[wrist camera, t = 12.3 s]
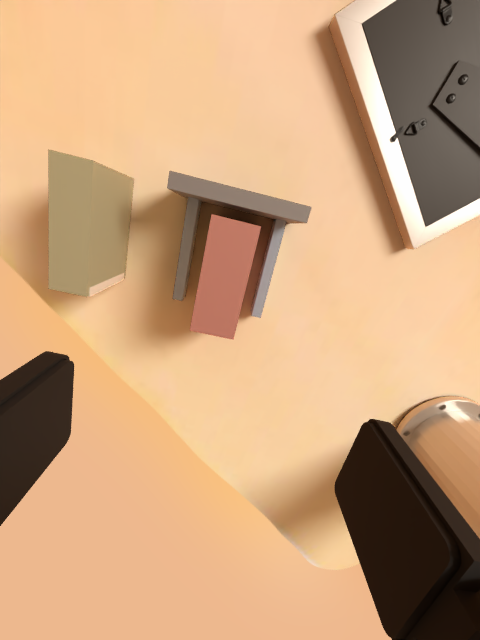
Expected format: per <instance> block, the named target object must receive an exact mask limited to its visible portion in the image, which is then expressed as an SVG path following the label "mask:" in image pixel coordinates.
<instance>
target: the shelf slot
mask: <svg viewBox="0 0 480 640" xmlns="http://www.w3.org/2000/svg"><path fill="white" fill-rule="evenodd" d="M167 188H168V189H170V190H172V191H174V192H176V193H178V194H179V195H181V196H183V197H186V198H188V202H187V208H186V215H185V221H184V228H183V234H182V241H181V247H180V254H179V260H178V267H177V273H176V280H175V286H174V293H173V299H176V300H180V301H182V300H183V299H184V298H185V296H186V290H187V284H188V278H189V272H190V266H191V261H192V255H193V249H194V243H195V237H196V231H197V225H198V219H199V213H200V207H201V202H202V201H203V202H207V203H211V204H215V205H219V206H223V207H227V208H231V209H235V210H239V211H243V212H247V213H251V214H255V215H259V216H263V217H267V218H271V219H274V221H273V225H272V229H271V233H270V237H269V240H268V244H267V248H266V252H265V256H264V260H263V264H262V268H261V272H260V276H259V280H258V284H257V288H256V291H255V295H254V299H253V303H252V307H251V315H252V316H254V317H259V318H261V315H262V311H263V307H264V303H265V300H266V296H267V292H268V289H269V285H270V281H271V278H272V274H273V270H274V266H275V263H276V259H277V255H278V252H279V248H280V244H281V241H282V237H283V233H284V229H285V226H286V222H287V223H307V221H308V217H309V214H310V210H311V207H310V206H306V205H302V204H298V203H294V202H290V201H286V200H282V199H278V198H274V197H270V196H267V195H263V194H259V193H255V192H251V191H247V190H243V189H239V188H235V187H231V186H227V185H224V184H220V183H216V182H212V181H208V180H204V179H200V178H196V177H192V176H188V175H184V174H181V173H177V172H173V171H169V178H168V186H167Z"/></svg>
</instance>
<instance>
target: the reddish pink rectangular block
mask: <svg viewBox="0 0 480 640" xmlns="http://www.w3.org/2000/svg"><path fill="white" fill-rule="evenodd" d="M260 230H261V226H257V225H253V224H249V223H245V222H241V221H237V220H233V219H229V218H225V217H221V216H217V215H214V214H212V215H211V220H210V225H209V230H208V235H207V241H206V246H205V251H204V257H203V262H202V267H201V273H200V278H199V283H198V289H197V294H196V299H195V305H194V310H193V315H192V321H191V327H190V331H195V332H200V333H205V334H209V335H214V336H219V337H223V338H228V339H234V335H235V331H236V327H237V323H238V319H239V315H240V311H241V307H242V302H243V298H244V294H245V290H246V286H247V282H248V278H249V274H250V270H251V266H252V262H253V258H254V254H255V250H256V246H257V242H258V238H259V234H260Z"/></svg>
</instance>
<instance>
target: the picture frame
mask: <svg viewBox="0 0 480 640" xmlns="http://www.w3.org/2000/svg"><path fill="white" fill-rule="evenodd" d="M329 29H330V32H331V35H332V38H333V41H334V43H335V46H336V49H337V52H338V55H339V58H340V61H341V64H342V67H343V69H344V72H345V75H346V78H347V81H348V84H349V87H350V90H351V93H352V95H353V98H354V101H355V104H356V107H357V110H358V113H359V116H360V119H361V121H362V124H363V127H364V130H365V133H366V136H367V139H368V142H369V145H370V147H371V150H372V153H373V156H374V159H375V162H376V165H377V168H378V171H379V173H380V176H381V179H382V182H383V185H384V188H385V191H386V194H387V197H388V199H389V202H390V205H391V208H392V211H393V214H394V217H395V220H396V223H397V225H398V228H399V231H400V234H401V237H402V240H403V243H404V246H405V248H407V249H415V248H417V247H419V246H421V245H423V244H425V243H427V242H429V241H431V240H433V239H435V238H437V237H439V236H440V235H442V234H444V233H446V232H448V231H450V230H452V229H454V228H456V227H458V226H460V225H462V224H463V223H465V222H467V221H469V220H471V219H473V218H475V217H477V216H479V215H480V0H355V1H353V2H352V3H350V4H349V5H347V6H346V7H345V8H343V9H342V10H340V11H339V12H337V13H336V14H335V15H334V17H333V19H332V21H331V23H330V25H329Z"/></svg>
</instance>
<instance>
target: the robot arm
mask: <svg viewBox="0 0 480 640" xmlns="http://www.w3.org/2000/svg"><path fill="white" fill-rule="evenodd" d="M73 378H74V363H73V362H72V361H70V360H69V357H68V356H67V355H63V354H58V353H53V352H47V351H46V352H44V353H42V354H40V355H39V356H37V357H36V358H34V359H32V360H31V361H29V362H28V363H26V364H25V365H23V366H21V367H20V368H18V369H17V370H15V371H14V372H12V373H11V374H9V375H8V376H6V377H4V378H3V379H1V380H0V526H1V524H2V523H3V522H4V521H5V519H6V518H7V517H8V516H9V514H10V513H11V512H12V511H13V509H14V508H15V507H16V506H17V504H18V503H19V502H20V501H21V499H22V498H23V497H24V496H25V494H26V493H27V492H28V490H29V489H30V488H31V487H32V486H33V484H34V483H35V482H36V481H37V479H38V478H39V477H40V476H41V474H42V473H43V472H44V471H45V469H46V468H47V467H48V466H49V464H50V463H51V462H52V461H53V459H54V458H55V457H56V456H57V454H58V453H59V452H60V451H61V449H62V448H63V447H64V446H65V444H66V443H67V441H68V439H69V437H70V433H71V418H72V398H73ZM335 494H336V497H337V500H338V503H339V505H340V508H341V511H342V514H343V517H344V519H345V522H346V525H347V528H348V531H349V533H350V536H351V539H352V542H353V545H354V547H355V550H356V553H357V556H358V559H359V561H360V564H361V567H362V570H363V572H364V575H365V578H366V581H367V583H368V587H369V589H370V592H371V595H372V598H373V601H374V603H375V606H376V609H377V611H378V614H379V617H380V620H381V623H382V625H383V628H384V630H385V632H386V633H387V635H388V636H389V637H391V638H392V640H480V405H479V404H477V403H476V402H475V401H472V400H470V399H468V398H464V397H459V396H447V397H440V398H436V399H433V400H429V401H427V402H425V403H423V404H421V405H419V406H418V407H416V408H414V409H413V410H412V411H411V412H409V413H408V414H407V415H406V416H405V417H404V418H403V420H402V421H401V422H400V424H399V425H398V427H397V429H395V428H394V427H393V425H392V424H391V423H389V422H385V421H380V420H375V419H370V420H369V421H368V422H365V423H363V425H362V426H361V429H360V431H359V433H358V435H357V437H356V439H355V441H354V443H353V446H352V448H351V450H350V452H349V454H348V456H347V458H346V460H345V462H344V465H343V467H342V469H341V471H340V473H339V475H338V477H337V479H336V482H335Z"/></svg>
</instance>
